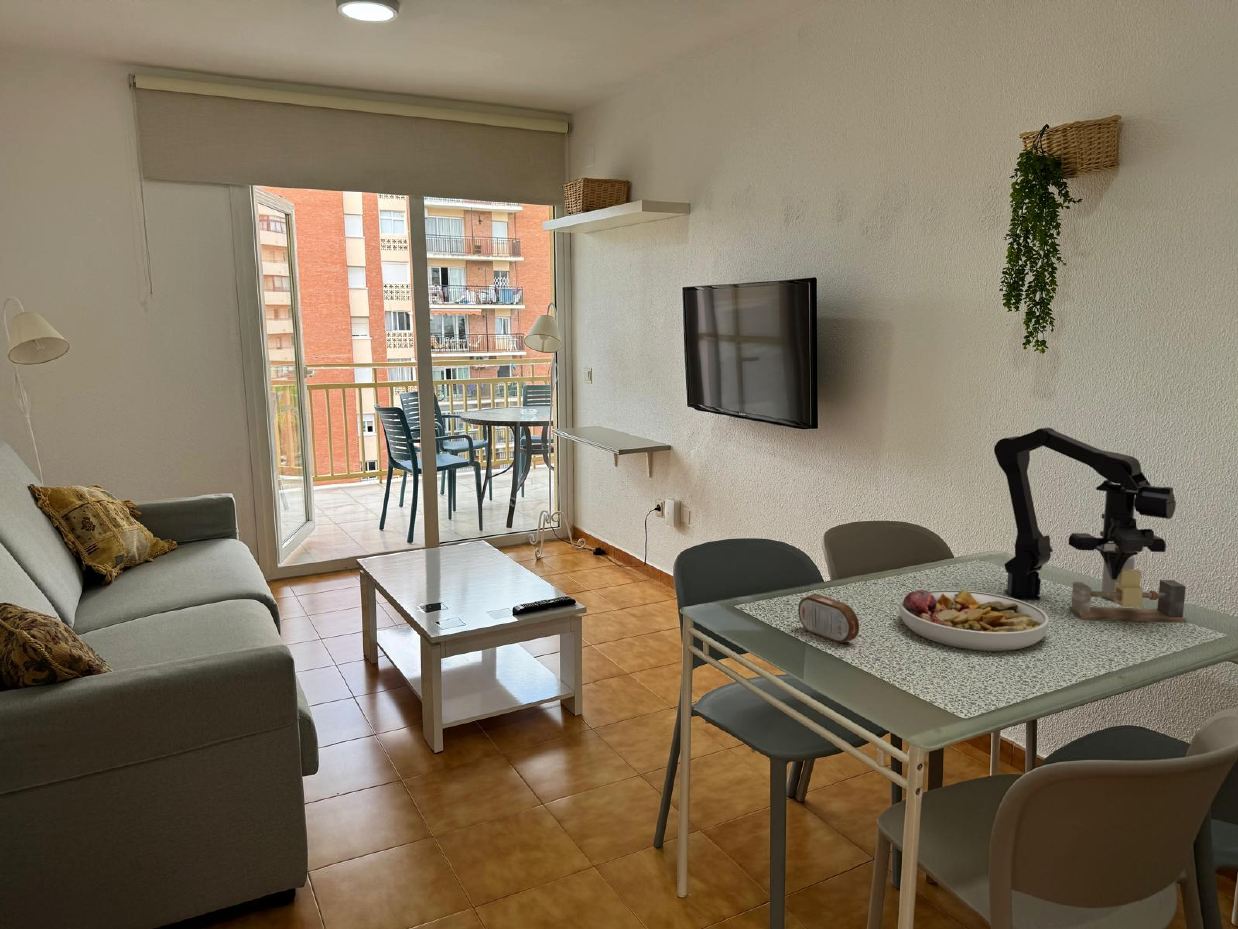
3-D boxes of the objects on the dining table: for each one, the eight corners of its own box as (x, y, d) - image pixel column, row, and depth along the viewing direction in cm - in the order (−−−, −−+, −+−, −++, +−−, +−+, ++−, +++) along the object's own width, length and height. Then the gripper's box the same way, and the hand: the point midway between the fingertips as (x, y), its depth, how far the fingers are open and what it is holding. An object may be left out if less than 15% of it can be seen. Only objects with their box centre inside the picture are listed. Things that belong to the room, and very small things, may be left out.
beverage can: (1136, 602, 209) (1140, 553, 208) (1109, 602, 210) (1113, 553, 208) (1122, 594, 216) (1126, 547, 214) (1095, 594, 216) (1099, 547, 214)
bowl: (1032, 616, 200) (1035, 582, 199) (1061, 663, 172) (1064, 625, 171) (896, 605, 208) (897, 573, 207) (901, 649, 180) (903, 612, 179)
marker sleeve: (1122, 606, 197) (1125, 572, 196) (1113, 601, 201) (1116, 567, 200) (1141, 607, 196) (1144, 573, 195) (1131, 601, 201) (1134, 567, 200)
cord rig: (1081, 619, 197) (1084, 585, 196) (1069, 609, 204) (1071, 576, 203) (1184, 622, 195) (1188, 587, 194) (1168, 612, 202) (1171, 578, 200)
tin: (859, 645, 181) (861, 606, 180) (849, 649, 179) (850, 609, 178) (805, 626, 193) (806, 589, 192) (795, 629, 191) (796, 592, 190)
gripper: (1091, 518, 189) (1085, 588, 191) (1182, 520, 187) (1175, 590, 189) (1070, 508, 200) (1065, 574, 202) (1156, 510, 198) (1150, 576, 200)
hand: (1113, 579), depth 198 cm, fingers closed
